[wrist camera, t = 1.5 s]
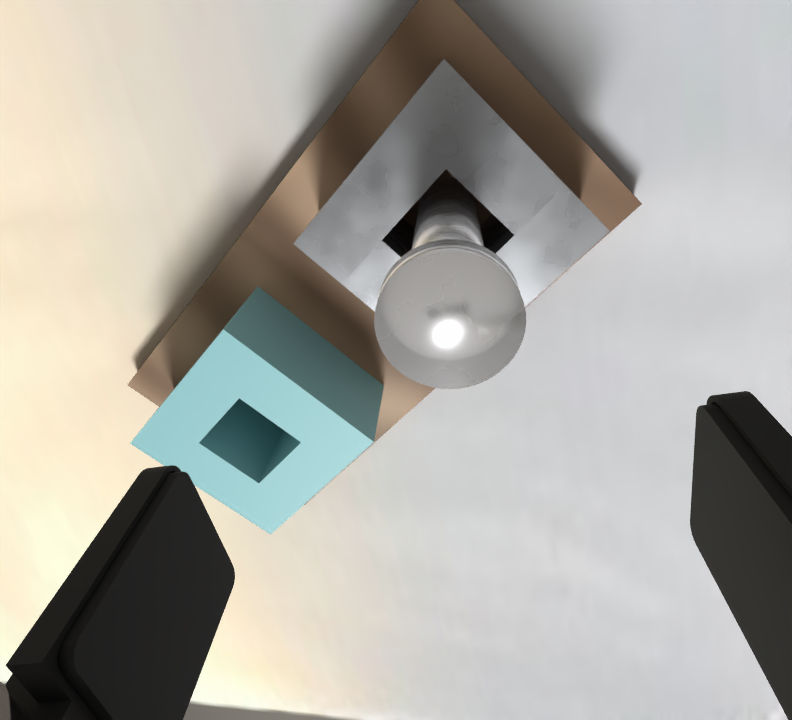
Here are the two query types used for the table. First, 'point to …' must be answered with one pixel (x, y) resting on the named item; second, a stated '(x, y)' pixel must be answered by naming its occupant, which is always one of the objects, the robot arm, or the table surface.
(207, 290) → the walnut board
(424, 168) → the plate
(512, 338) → the lock pin
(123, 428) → the table surface
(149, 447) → the teal socket
